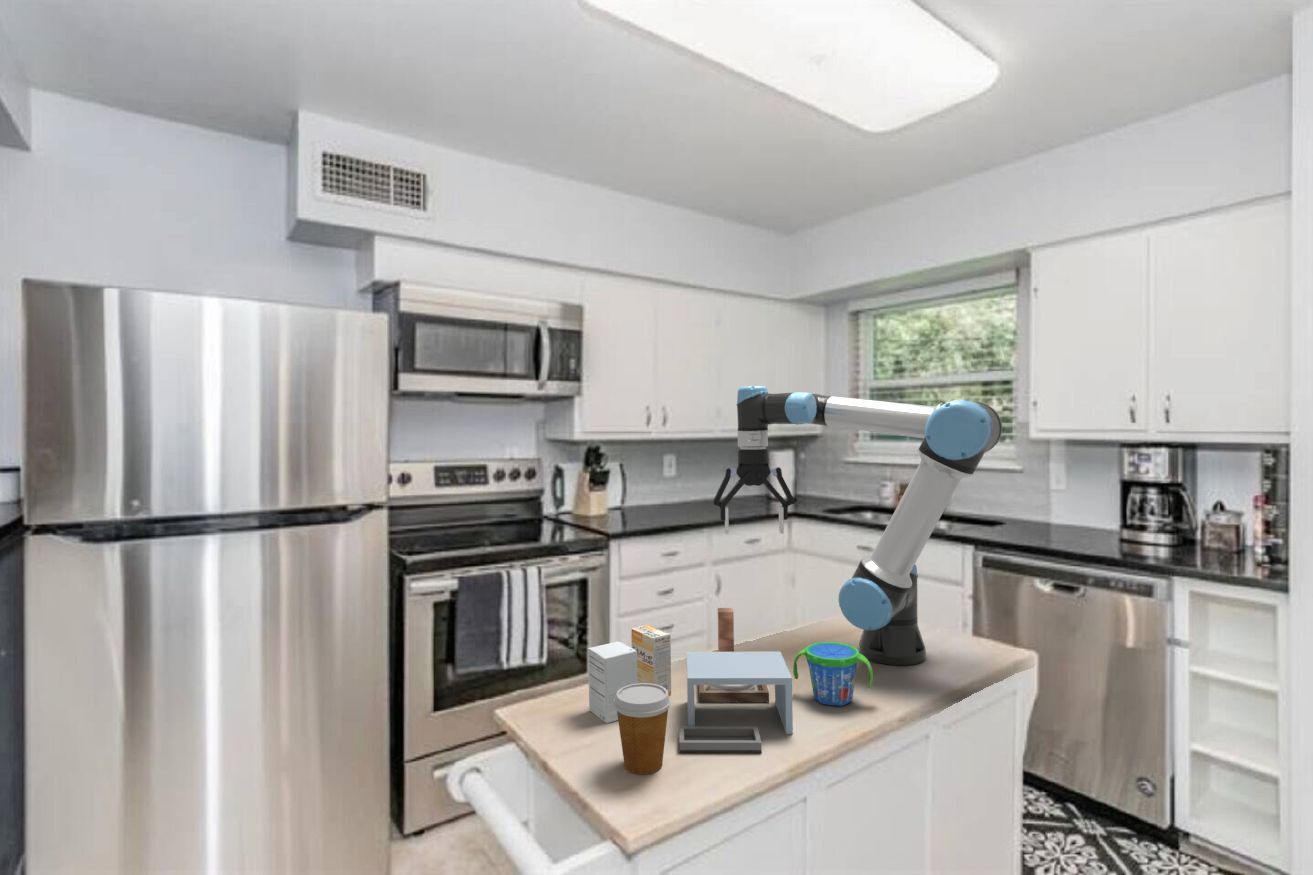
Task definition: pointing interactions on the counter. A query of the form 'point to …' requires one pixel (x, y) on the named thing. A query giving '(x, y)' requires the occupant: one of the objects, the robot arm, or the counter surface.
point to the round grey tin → (731, 688)
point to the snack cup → (832, 671)
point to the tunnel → (741, 677)
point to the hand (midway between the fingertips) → (754, 533)
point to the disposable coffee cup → (642, 725)
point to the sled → (728, 646)
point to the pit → (720, 740)
